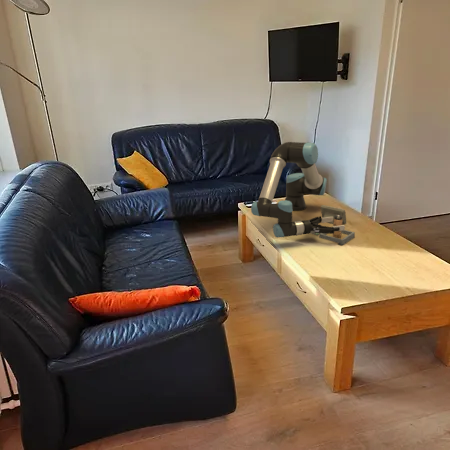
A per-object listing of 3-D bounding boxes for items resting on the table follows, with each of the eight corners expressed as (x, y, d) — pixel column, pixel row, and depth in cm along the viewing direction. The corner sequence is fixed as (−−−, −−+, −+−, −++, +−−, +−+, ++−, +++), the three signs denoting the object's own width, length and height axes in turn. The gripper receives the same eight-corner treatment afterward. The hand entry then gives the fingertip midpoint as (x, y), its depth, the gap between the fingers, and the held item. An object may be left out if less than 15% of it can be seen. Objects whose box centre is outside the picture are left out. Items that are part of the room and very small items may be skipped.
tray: (331, 231, 230) (332, 226, 229) (354, 237, 221) (354, 232, 220) (319, 239, 220) (319, 234, 219) (342, 245, 211) (342, 240, 210)
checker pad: (312, 225, 240) (312, 222, 239) (330, 229, 232) (330, 226, 232) (299, 232, 231) (299, 228, 230) (317, 237, 223) (318, 233, 222)
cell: (335, 234, 223) (336, 213, 218) (342, 236, 220) (344, 215, 215) (331, 237, 220) (332, 215, 215) (338, 239, 217) (340, 217, 212)
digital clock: (348, 224, 238) (349, 208, 235) (338, 228, 234) (339, 211, 230) (326, 217, 251) (327, 202, 247) (317, 221, 246) (317, 205, 242)
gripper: (293, 226, 226) (327, 221, 230) (311, 243, 203) (349, 238, 207) (293, 213, 223) (328, 209, 227) (311, 229, 200) (350, 224, 204)
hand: (338, 223), depth 217 cm, fingers open, 13 cm apart
